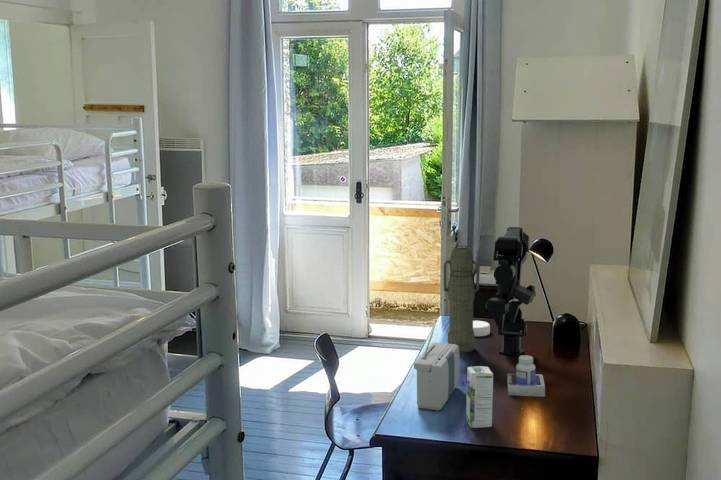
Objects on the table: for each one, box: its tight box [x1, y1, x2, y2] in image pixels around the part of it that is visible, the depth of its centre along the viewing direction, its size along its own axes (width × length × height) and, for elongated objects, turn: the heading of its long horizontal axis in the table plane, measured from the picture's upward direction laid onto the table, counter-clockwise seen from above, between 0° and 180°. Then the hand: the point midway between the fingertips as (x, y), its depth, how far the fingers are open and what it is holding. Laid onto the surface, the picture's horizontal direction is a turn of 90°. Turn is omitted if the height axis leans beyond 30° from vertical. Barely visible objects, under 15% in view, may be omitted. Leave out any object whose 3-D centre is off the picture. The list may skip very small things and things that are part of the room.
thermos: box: [443, 245, 481, 354], centre depth 258 cm, size 9×12×35 cm
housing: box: [507, 372, 546, 398], centre depth 222 cm, size 10×10×3 cm
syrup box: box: [465, 365, 494, 429], centre depth 198 cm, size 6×6×14 cm
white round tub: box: [473, 320, 491, 337], centre depth 280 cm, size 10×10×4 cm
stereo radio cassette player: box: [413, 320, 461, 412], centre depth 216 cm, size 21×8×20 cm, turn 160°
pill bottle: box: [515, 354, 536, 385], centre depth 222 cm, size 5×5×10 cm
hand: (506, 326), depth 241 cm, fingers open, 9 cm apart
